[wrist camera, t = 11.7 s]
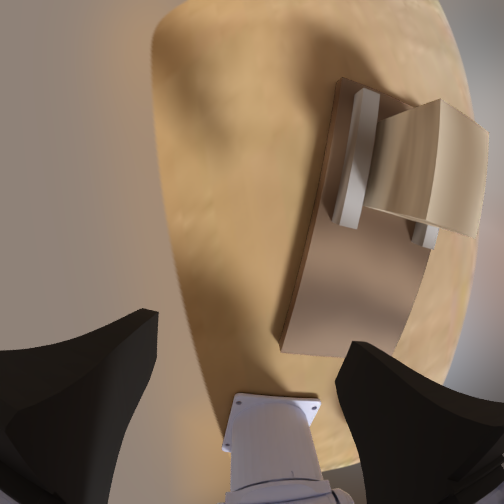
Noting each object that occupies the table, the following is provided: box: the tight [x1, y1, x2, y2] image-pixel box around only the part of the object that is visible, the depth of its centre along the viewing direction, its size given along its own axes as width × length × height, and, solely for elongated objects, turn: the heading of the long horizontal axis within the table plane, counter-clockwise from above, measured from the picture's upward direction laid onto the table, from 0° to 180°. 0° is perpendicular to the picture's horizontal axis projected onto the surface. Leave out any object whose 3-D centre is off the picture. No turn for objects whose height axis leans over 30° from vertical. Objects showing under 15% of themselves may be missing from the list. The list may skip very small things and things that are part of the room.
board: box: [279, 77, 439, 358], centre depth 17 cm, size 20×10×3 cm, turn 169°
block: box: [363, 99, 489, 239], centre depth 13 cm, size 4×6×7 cm, turn 169°
